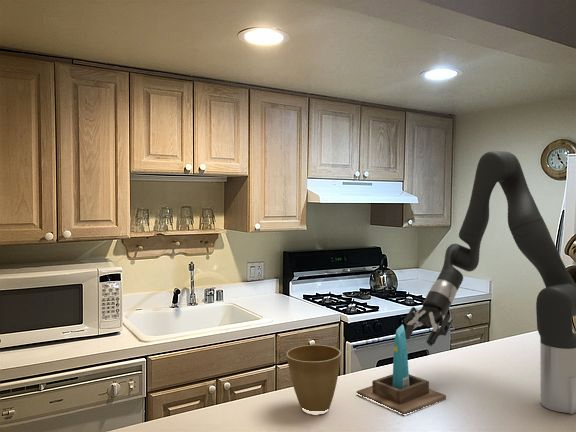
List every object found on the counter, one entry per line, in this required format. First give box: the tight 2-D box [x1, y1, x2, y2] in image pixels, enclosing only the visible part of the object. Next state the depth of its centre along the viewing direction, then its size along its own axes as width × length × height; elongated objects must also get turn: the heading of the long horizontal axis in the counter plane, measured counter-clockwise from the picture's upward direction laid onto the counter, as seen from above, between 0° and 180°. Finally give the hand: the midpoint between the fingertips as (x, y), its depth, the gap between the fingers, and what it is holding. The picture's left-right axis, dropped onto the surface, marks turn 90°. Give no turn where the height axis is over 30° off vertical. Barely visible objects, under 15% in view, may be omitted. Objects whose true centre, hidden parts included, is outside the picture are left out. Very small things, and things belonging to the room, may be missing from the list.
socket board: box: [356, 373, 447, 414], centre depth 140 cm, size 18×18×5 cm
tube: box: [392, 324, 410, 389], centre depth 140 cm, size 7×5×19 cm, turn 157°
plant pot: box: [286, 344, 342, 411], centre depth 132 cm, size 15×15×16 cm
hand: (417, 340), depth 144 cm, fingers open, 8 cm apart
